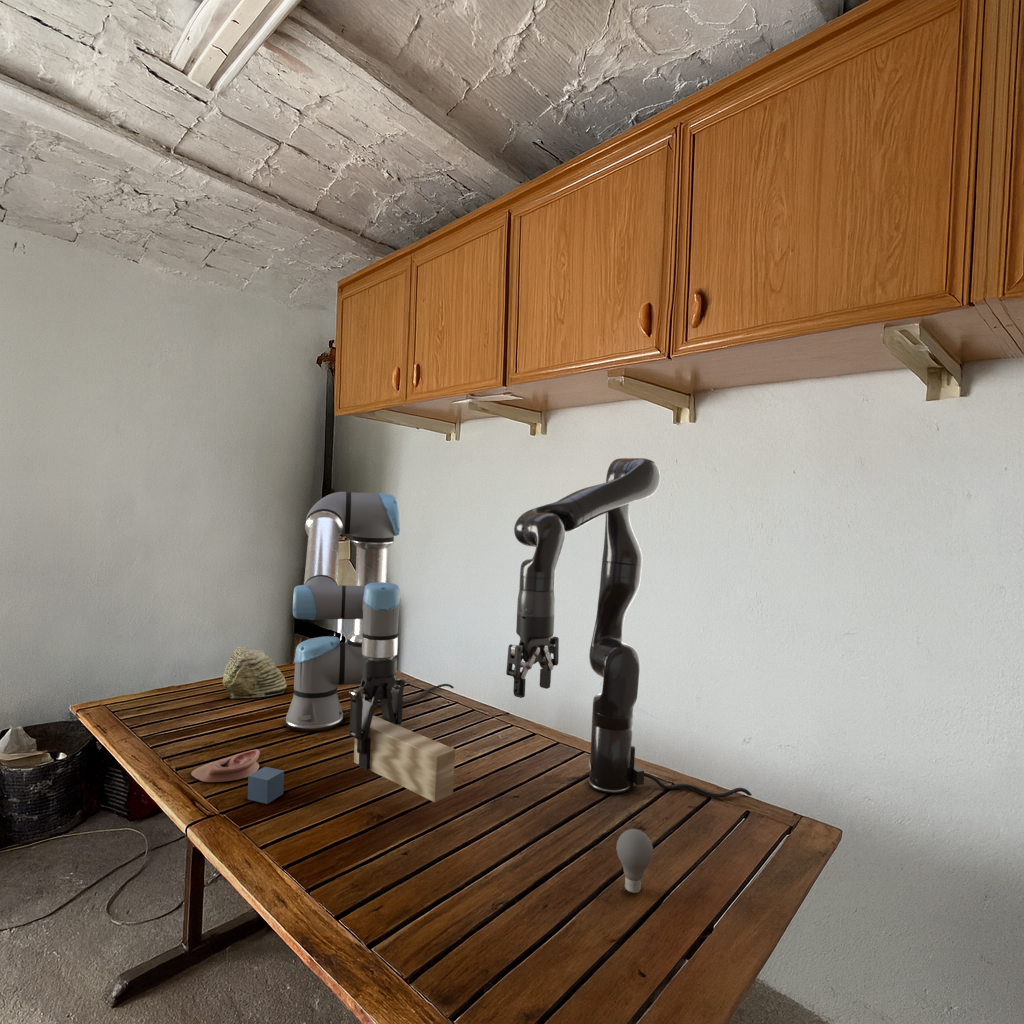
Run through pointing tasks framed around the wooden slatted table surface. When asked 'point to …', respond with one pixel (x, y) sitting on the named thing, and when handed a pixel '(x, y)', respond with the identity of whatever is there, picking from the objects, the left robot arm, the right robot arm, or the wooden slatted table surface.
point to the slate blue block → (265, 785)
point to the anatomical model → (229, 768)
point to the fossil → (252, 674)
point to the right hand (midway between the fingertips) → (532, 692)
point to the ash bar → (410, 759)
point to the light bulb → (634, 857)
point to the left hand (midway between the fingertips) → (374, 762)
